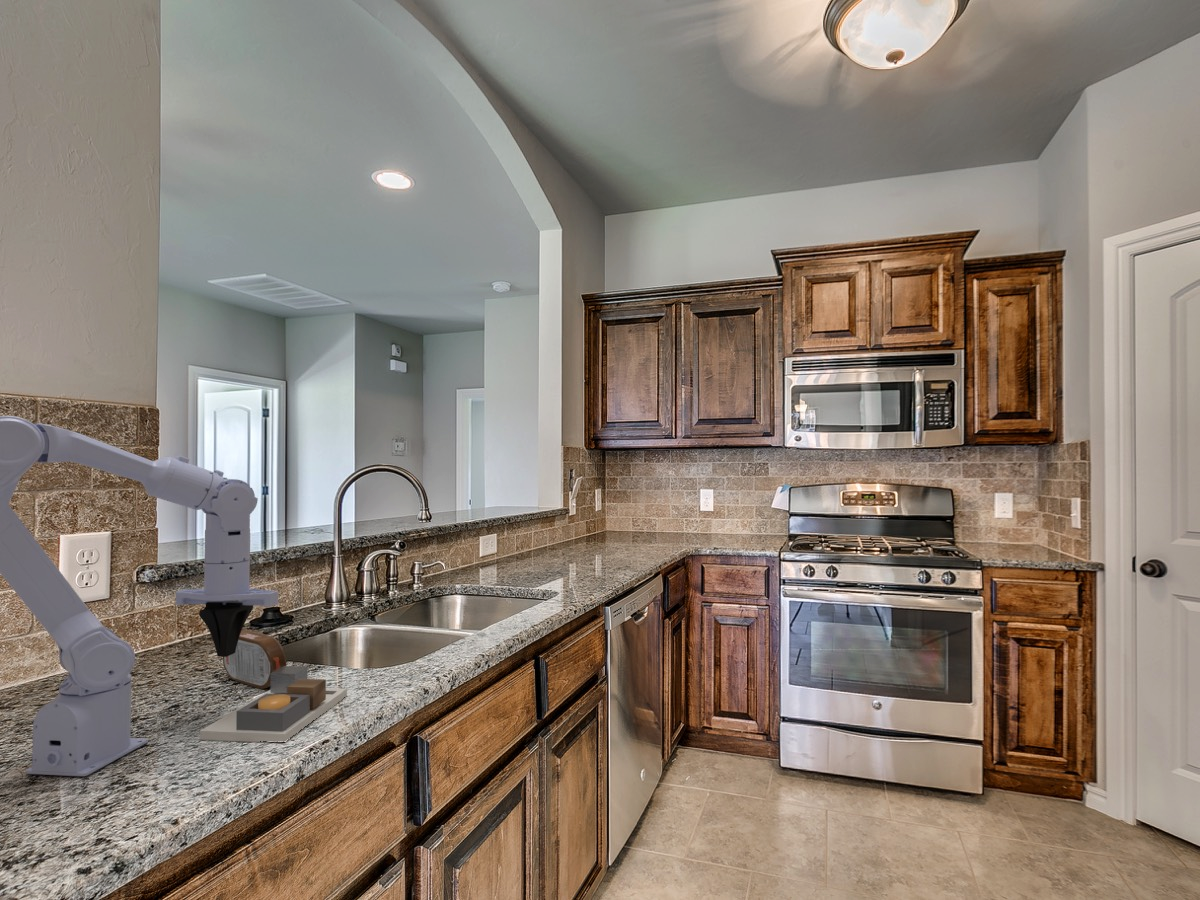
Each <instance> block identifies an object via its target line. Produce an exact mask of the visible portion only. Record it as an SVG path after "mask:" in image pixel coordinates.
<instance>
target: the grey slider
mask: <svg viewBox="0 0 1200 900" xmlns="http://www.w3.org/2000/svg"><path fill="white" fill-rule="evenodd" d="M299 679H308V666H303V665H302V666H299V665H298V666H296V665H293V666H291V665H286V666H283V667H281V668H279V669H277V670H276V671H274V672H272V673H271V683H270V687H269V690H270V693H287V687H288V686H289V685H291V684H293V683H294V682H296V681H298V680H299Z"/></svg>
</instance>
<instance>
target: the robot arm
mask: <svg viewBox="0 0 1200 900" xmlns="http://www.w3.org/2000/svg"><path fill="white" fill-rule="evenodd" d="M36 462H37V464H53V463H54V464H55V463H65V462H66V463H68V462H69V463H70V462H71V463H75V464H78V465H82V466H85V467H89V468H92V469H95V470H98V471H103V472H106V473H109V474H112V475H114V476H115V475H116V476H119V477H122V478H125V479H126V478H127V479H130V480H133V481H136V482H140V483H141V485H142V486H143V488H144V490H145V492H146V494H147V495H148V496H149V497H153V498H158V499H160V500H163V501H166V502H170V503H173V504H176V505H179V506H182V507H185V508H188V509H192V510H196V511H199V510H201V511H202V512H203V513H204V514H205V530H204V565H203V568H204V569H203V570H204V571H203V573H204V575H203V576H204V578H203V588H190V589H189V588H184V589H181V590H177V591H175V606H184V605H205V606H204V609H203V608H202V609H200V610H199V611H198V612H199V614H198V616H199V617H200V618H201V620H202V621H203V623H204V624H205V625H206V627H207V629H208V631H209V633H210V635H211V639H212V642H213V645H214V649H215V651H216V655H217V657H219V658H223V657H227V656H229V655H232V654H234V653H235V651H236V647H237V643H238V639H239V636H240V633H241V631H242V630H243V627H244V626H245V623H246V621H247V619H248V618H249V616H250V615H251V612H252V611H253V609H254V606H263V607H266V608H269V607H270V608H271V607H273V606H276V605H278V604H279V590H270V589H261V588H260V589H259V588H252V587H251V585H250V581H251V580H250V572H251V569H250V564H251V560H250V559H251V528H250V526H251V524H250V522H251V519H250V518H251V517H250V516H251V514H252V513H253V512H254V510H255V509H256V507H257V504H258V500H259V498H258V497H256V495H255V492H254V490H253V488H252V487H251V486H250V484H249V483H247V482H246V481H244V480H241V479H236V478H235V479H234V478H233V479H231V478H227V477H224V474H225V473H224V471H221V470H219V469H215V470H214V471H211V470H208V469H206V468H203V467H201V466H198V465H195V464H193V463H189V462H190V458H188V457H186V456H183V455H176V457H172V456H164V457H161V458H157V459H156V460H150V459H148V458H146V457H143V456H140V455H137V454H135V453H132V452H129V451H128V450H127V451H126V450H124V449H122V448H119V447H116V446H114V445H111V444H110V443H109V444H108V443H107V442H103V441H100V440H97V439H96V438H93V437H90V436H87V435H84V434H81V433H80V432H76V431H73V430H69V429H67V428H63V427H62V428H61V427H58V426H55V425H50V424H45V423H41V422H37V423H33V422H31V421H30V420H28V419H25V418H22V417H18V416H15V415H0V575H1V576H2V578H3V579H4V580H5V581H6V582H7V584H8V585H9V586H10V587H11V588H12V590H13V591H14V593H15V594H16V595H17V596H18V597H19V598H20V600H21V601H22V602H23V604H25V606H26V607H27V608H28V610H29V611H30V612H31V613H32V615H33V616H34V617H35V618H36V619H37V621H38V622H39V623H40V625H41V626H42V627H43V628H44V629H45V631H46V632H47V633H48V635H49V636H50V637H51V638H52V639H53V641H54V642H55V644H56V645H57V647H58V659H59V663H60V664H61V667H62V668H63V669H64V670H65V671H67V672H68V675H66V676H65V678H64V679H63V681H62V682H61V683H60V684H59V688H58V690H59V691H58V694H57V695H56V696H55V697H54V699H53V700H52V701H50V702H48V703H47V704H45V705H43V706H42V707H40V708H39V710H38V711H37V713H36V714H35V716H34V719H33V723H32V753H31V754H32V758H31V759H32V762H31V764H32V765H31V766H30V767H28V768H26V770H25V774H28V775H45V776H46V775H47V776H68V777H86V776H89V775H91V774H93V773H94V772H96V771H98V770H100V769H102V768H103V767H106V766H107V765H109V764H110V763H113V762H115V761H116V760H118V759H119V758H122V757H124V756H126V755H127V754H129V753H131V752H132V751H134V750H137V749H139V748H140V747H142V746H144V745H145V744H147V743H148V741H149V740H148V738H144V737H143V738H142V737H138V738H137V737H131V732H132V731H131V728H132V726H131V723H132V721H131V719H132V718H131V716H132V714H131V713H132V712H131V711H132V674H131V672H132V670H133V668H134V666H135V660H136V654H135V651H134V648H133V647H132V645H131V644H130V643H128V641H125V640H124V639H121V638H120V637H119V636H118V635H117V634H116V633H115V632H114V631H113V630H112V629H110V628H108V627H106V626H104V625H103V624H102V622H100V621H99V619H98V618H97V617H96V616H95V614H94V613H93V612H92V611H91V610H90V608H88V606H87V604H85V602H84V601H83V599H82V598H81V597H80V595H78V593H77V592H76V591H75V589H74V588H73V587H72V585H71V584H70V583H69V581H68V580H67V579H66V577H65V576H64V575H63V574H62V572H61V571H60V570H59V568H58V567H57V565H55V563H54V561H52V559H51V558H50V556H49V555H48V554H47V553H46V551H45V550H44V549H43V548H42V546H41V544H40V543H39V542H38V541H37V540H36V538H35V537H34V536H33V534H32V533H31V532H30V530H29V529H28V528H27V526H26V525H25V524H24V523H23V521H22V520H21V518H20V517H19V516H18V515H17V513H16V512H15V511H14V510H13V508H12V507H11V506H10V501H11V500H12V497H13V495H14V492H15V490H16V488H17V486H18V485H19V482H20V479H21V477H22V476H23V475H24V474H26V472H27V471H29V469H31V468H32V466H33V465H34V464H35V463H36Z"/></svg>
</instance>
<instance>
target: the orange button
mask: <svg viewBox="0 0 1200 900" xmlns="http://www.w3.org/2000/svg"><path fill="white" fill-rule="evenodd" d="M288 704H290V696H289V695H283V694H280V695H272V696H268V697H265V698H262V699H261V700H259V701H258V709H274V710H281V709H282V708H284V707H285V706H287V705H288Z"/></svg>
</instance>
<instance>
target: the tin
mask: <svg viewBox="0 0 1200 900" xmlns="http://www.w3.org/2000/svg"><path fill="white" fill-rule="evenodd" d="M222 661H223V662H222V663H223V664H222V665H223V667H224V671H225V673H227V676H229V678H230V679H232V680H233V681H236V682H239V683H241V684H245V685H247V686H251V687H254V688H257V689H261V690H265V689H267V688H270V683H271V673H272V672H274V671H276V670H277V669H279V668H281V667H283V666H287V657H286V653H285V652H284V649H283V646H282V644H281V643H280V642H279V640H278V639H276V638H275V637H273V636H272V635H267V634H264V633H260V632H255V631H253V630H249V629H242V631H241V633H240V636H239V639H238V643H237V647H236V651H235V653H234V654H232V655H229V656H227V657H222Z"/></svg>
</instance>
